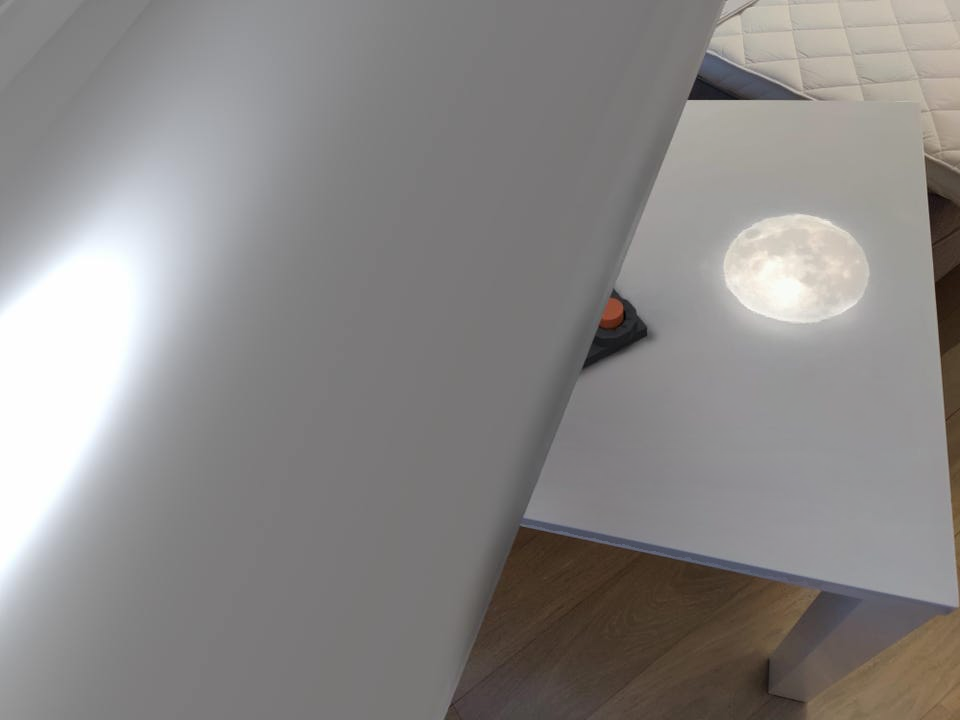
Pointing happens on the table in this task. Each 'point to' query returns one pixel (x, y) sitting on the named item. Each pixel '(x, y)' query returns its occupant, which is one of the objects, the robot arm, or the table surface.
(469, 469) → the robot arm
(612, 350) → the dark grey button plate
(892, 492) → the table surface
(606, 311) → the button
